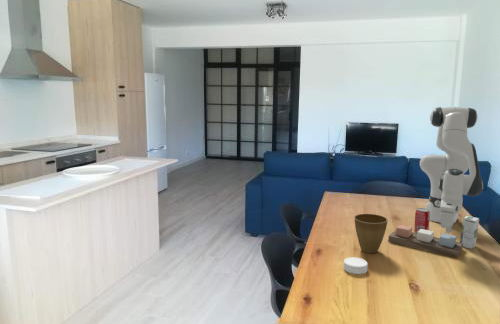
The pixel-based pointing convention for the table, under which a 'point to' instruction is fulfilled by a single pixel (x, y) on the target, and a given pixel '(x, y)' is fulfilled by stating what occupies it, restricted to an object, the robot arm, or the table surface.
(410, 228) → the terracotta key
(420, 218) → the soda can
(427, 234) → the white key
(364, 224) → the plant pot
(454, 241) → the blue-grey key
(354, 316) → the table surface
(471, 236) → the syrup box
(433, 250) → the key panel
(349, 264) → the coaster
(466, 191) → the robot arm
